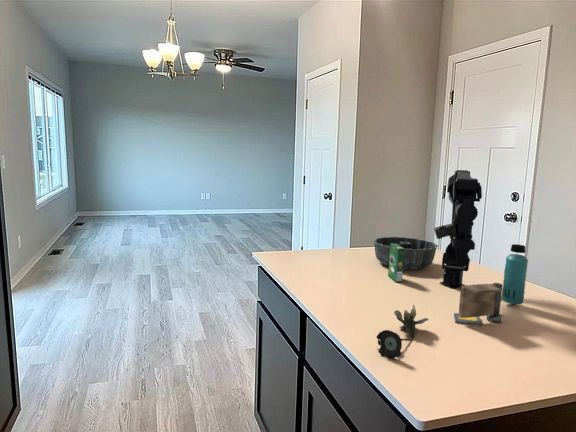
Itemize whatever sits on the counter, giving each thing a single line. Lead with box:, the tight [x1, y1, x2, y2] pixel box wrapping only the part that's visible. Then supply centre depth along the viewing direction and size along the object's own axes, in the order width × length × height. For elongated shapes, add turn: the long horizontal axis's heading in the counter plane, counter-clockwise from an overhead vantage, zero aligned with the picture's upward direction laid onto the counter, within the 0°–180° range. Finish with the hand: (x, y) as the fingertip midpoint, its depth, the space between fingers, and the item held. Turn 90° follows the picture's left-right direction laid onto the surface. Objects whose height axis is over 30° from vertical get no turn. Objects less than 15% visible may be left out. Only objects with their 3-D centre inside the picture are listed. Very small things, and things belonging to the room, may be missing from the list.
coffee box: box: [387, 243, 405, 283], centre depth 163 cm, size 8×3×13 cm, turn 8°
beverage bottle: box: [501, 243, 529, 305], centre depth 138 cm, size 6×7×20 cm
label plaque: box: [453, 312, 483, 327], centre depth 126 cm, size 7×6×1 cm
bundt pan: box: [372, 236, 439, 271], centre depth 185 cm, size 26×26×10 cm
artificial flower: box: [376, 304, 430, 359], centre depth 111 cm, size 9×22×10 cm, turn 142°
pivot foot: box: [485, 313, 503, 324], centre depth 127 cm, size 4×4×2 cm
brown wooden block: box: [458, 282, 503, 318], centre depth 122 cm, size 13×7×10 cm, turn 106°
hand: (459, 264), depth 141 cm, fingers closed
